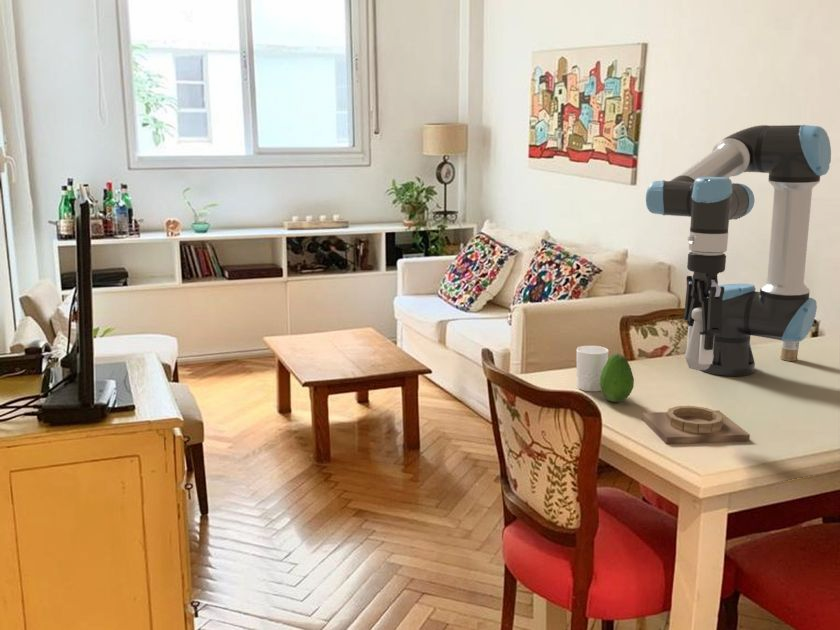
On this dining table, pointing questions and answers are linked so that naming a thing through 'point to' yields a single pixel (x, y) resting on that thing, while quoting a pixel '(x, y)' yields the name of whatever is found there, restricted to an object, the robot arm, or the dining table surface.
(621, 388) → the avocado
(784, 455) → the dining table surface
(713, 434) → the cruet board
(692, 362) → the salt shaker
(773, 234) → the robot arm
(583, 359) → the white cup
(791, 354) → the sprinkles bottle
